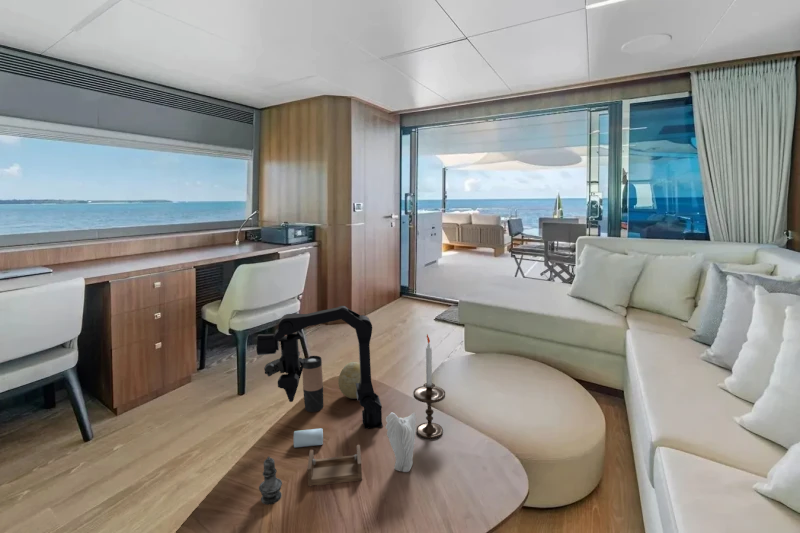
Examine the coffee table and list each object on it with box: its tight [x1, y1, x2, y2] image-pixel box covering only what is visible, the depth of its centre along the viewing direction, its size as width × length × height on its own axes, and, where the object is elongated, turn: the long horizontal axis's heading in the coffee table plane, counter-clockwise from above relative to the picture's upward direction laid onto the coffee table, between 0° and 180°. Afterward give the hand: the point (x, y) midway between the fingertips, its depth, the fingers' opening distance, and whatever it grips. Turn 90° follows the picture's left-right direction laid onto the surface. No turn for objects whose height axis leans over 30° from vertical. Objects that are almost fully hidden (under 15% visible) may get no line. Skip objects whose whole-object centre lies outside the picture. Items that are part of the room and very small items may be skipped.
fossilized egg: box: [337, 361, 360, 400], centre depth 159 cm, size 13×13×15 cm
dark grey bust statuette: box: [258, 455, 283, 506], centre depth 103 cm, size 6×6×12 cm
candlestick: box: [412, 333, 446, 440], centre depth 131 cm, size 11×11×35 cm
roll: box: [293, 427, 324, 448], centre depth 127 cm, size 9×5×5 cm, turn 98°
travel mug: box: [301, 355, 324, 413], centre depth 151 cm, size 8×8×20 cm
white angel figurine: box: [385, 411, 417, 473], centre depth 114 cm, size 8×8×18 cm
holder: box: [306, 444, 363, 487], centre depth 113 cm, size 15×9×5 cm, turn 98°
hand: (293, 395), depth 133 cm, fingers open, 9 cm apart
